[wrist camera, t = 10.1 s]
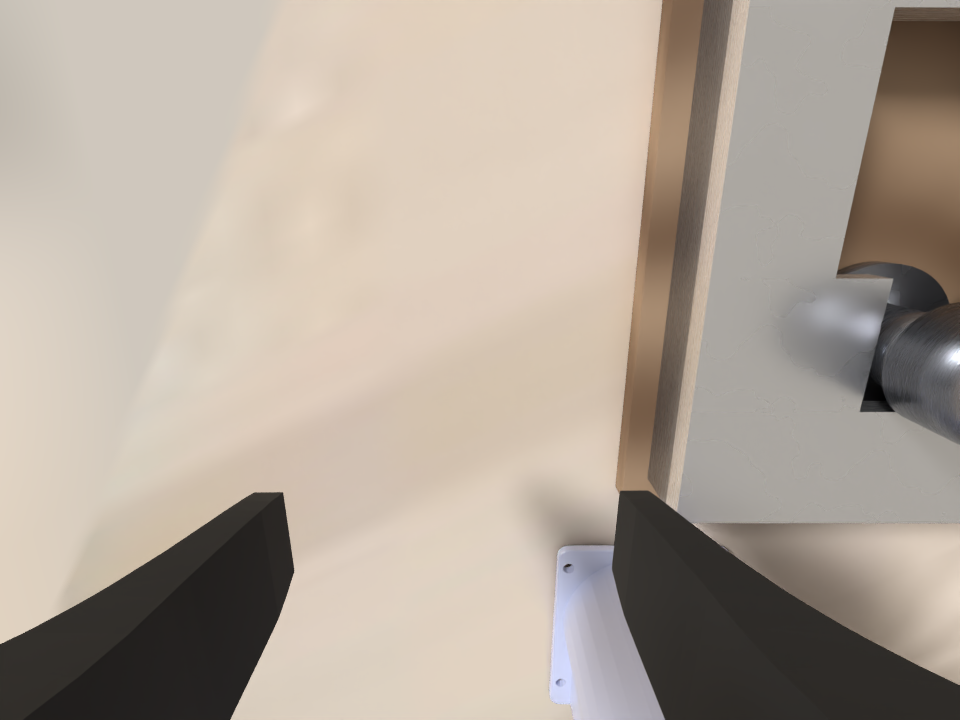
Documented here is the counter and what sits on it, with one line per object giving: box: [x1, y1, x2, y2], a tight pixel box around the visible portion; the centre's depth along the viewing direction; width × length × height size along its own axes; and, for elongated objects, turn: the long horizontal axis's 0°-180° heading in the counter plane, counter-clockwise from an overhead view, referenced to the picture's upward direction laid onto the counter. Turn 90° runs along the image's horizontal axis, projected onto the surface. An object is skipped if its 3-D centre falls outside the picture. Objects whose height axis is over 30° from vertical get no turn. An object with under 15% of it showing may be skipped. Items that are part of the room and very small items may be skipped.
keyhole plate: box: [647, 0, 960, 523], centre depth 16 cm, size 20×15×3 cm
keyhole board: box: [616, 0, 960, 498], centre depth 18 cm, size 22×17×1 cm
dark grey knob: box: [837, 261, 960, 445], centre depth 15 cm, size 6×6×8 cm
